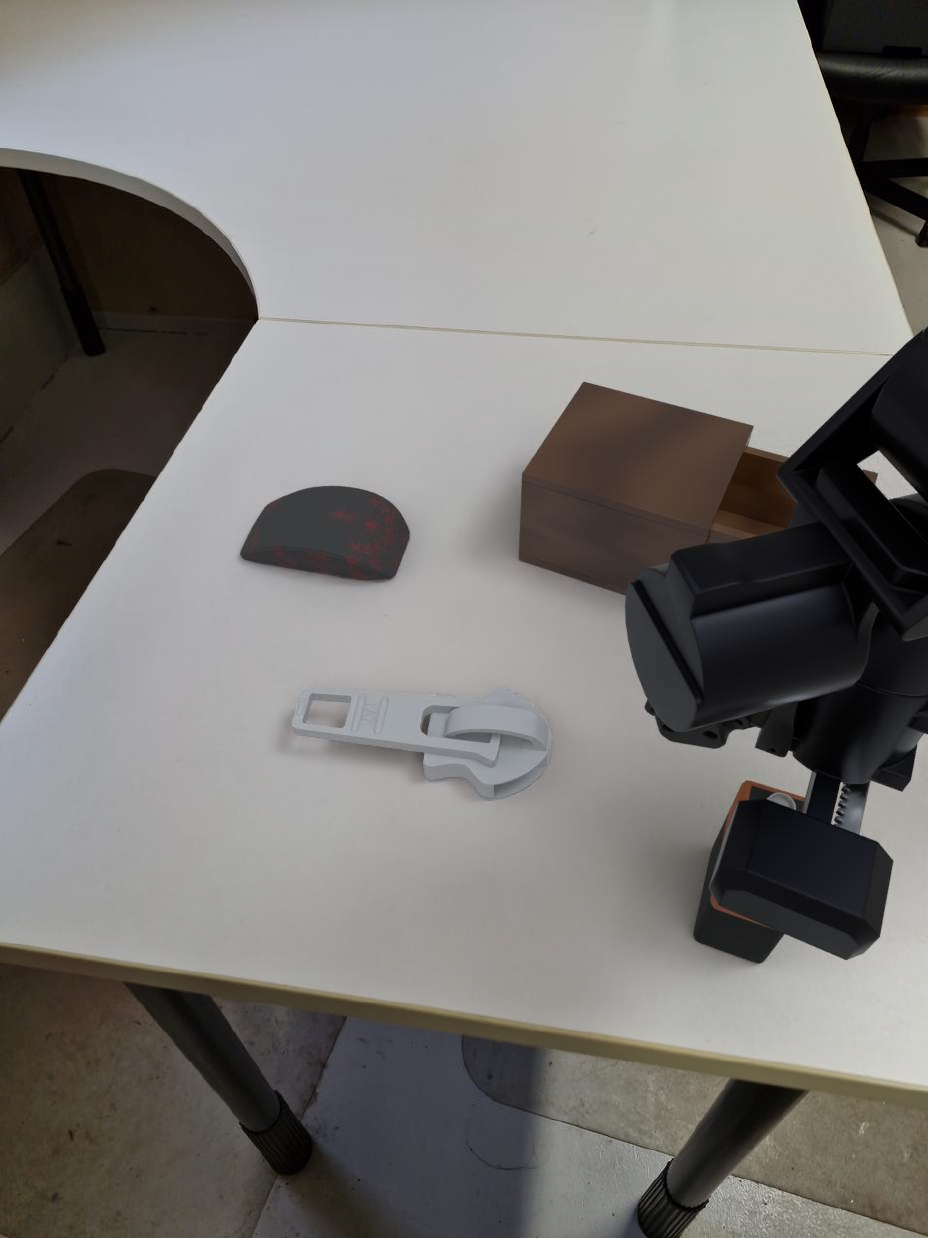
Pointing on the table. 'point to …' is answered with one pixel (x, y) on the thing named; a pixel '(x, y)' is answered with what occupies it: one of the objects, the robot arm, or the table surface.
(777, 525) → the drawer
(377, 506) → the dark grey half-round block
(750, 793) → the battery
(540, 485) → the cabinet
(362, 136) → the table surface
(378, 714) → the zipper pull
